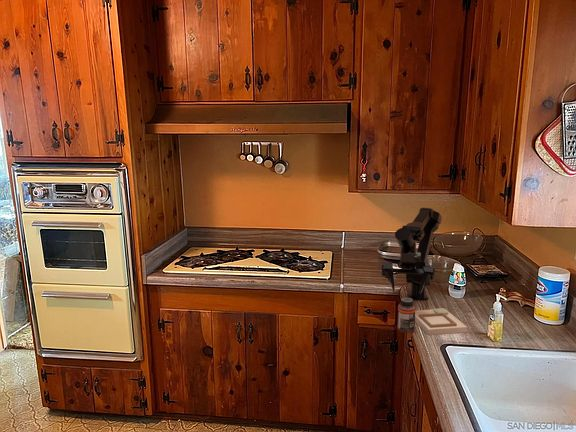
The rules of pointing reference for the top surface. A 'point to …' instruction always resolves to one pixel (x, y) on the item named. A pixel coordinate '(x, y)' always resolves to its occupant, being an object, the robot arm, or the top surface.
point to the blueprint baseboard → (439, 322)
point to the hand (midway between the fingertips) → (406, 292)
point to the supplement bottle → (406, 316)
